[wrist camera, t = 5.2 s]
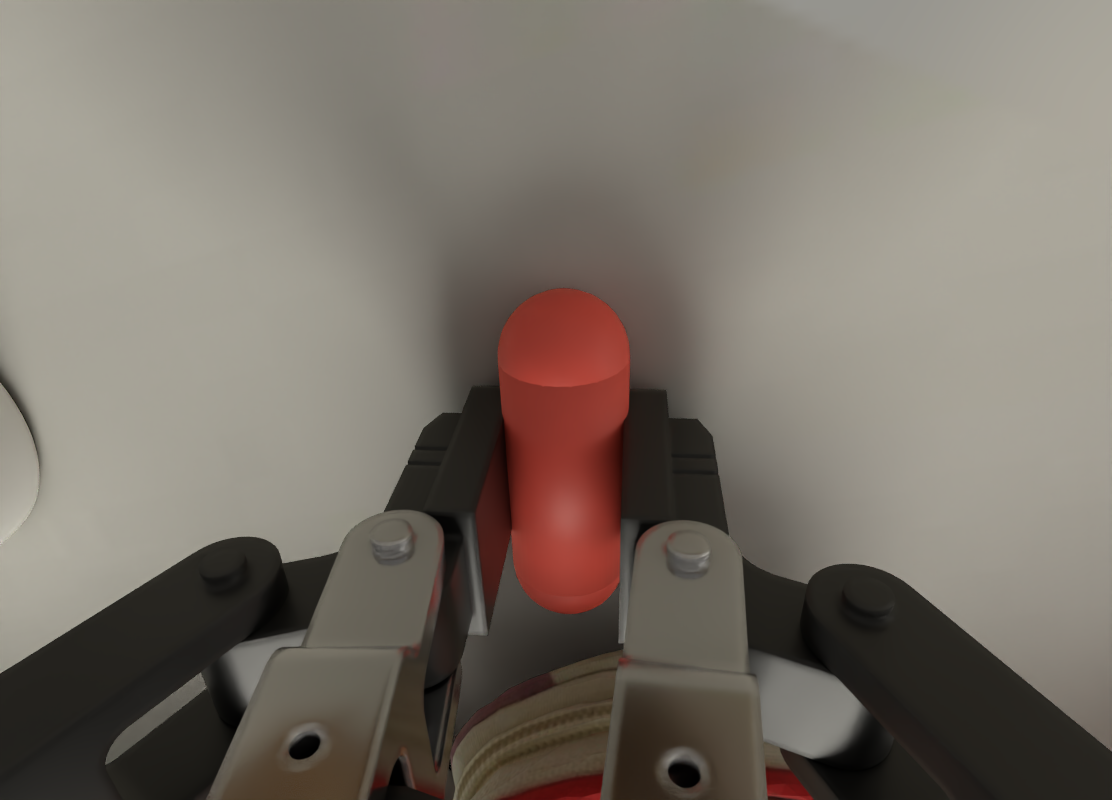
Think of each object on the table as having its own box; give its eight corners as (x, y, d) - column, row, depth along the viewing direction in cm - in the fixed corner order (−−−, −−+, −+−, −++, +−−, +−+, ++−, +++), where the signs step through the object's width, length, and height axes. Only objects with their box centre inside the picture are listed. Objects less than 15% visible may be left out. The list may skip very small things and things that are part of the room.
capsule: (505, 269, 11) (479, 320, 10) (632, 269, 11) (630, 322, 10) (524, 557, 14) (508, 635, 13) (625, 562, 14) (622, 643, 12)
